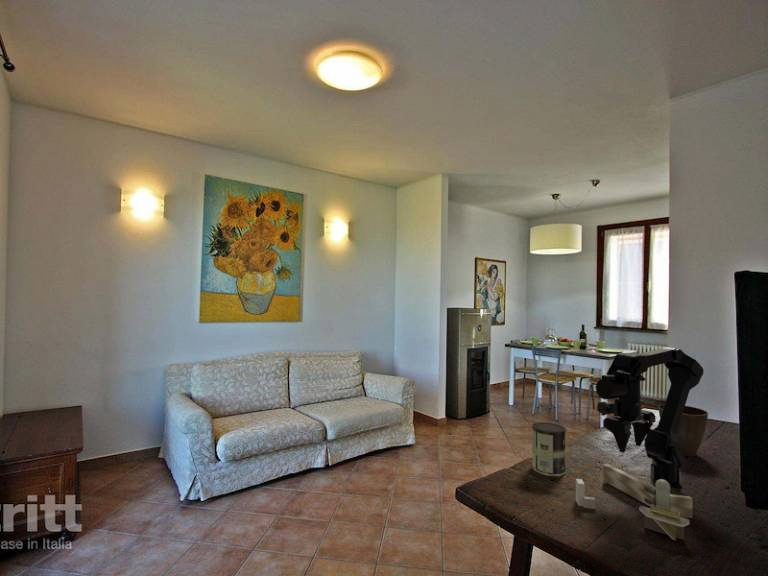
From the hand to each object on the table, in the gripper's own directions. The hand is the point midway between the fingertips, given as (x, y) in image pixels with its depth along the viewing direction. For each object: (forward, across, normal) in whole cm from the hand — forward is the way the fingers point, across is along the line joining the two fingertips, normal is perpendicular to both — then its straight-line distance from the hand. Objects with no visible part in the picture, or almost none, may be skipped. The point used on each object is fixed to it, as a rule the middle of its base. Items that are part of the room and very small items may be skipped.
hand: (630, 448), depth 119 cm
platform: (+12, +17, +16) cm, 27 cm away
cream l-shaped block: (+12, +20, -2) cm, 23 cm away
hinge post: (+12, +7, +11) cm, 18 cm away
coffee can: (+12, +9, -21) cm, 26 cm away
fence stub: (+12, +4, +14) cm, 19 cm away
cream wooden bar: (+11, +4, +1) cm, 12 cm away
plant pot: (+13, -47, -5) cm, 49 cm away
